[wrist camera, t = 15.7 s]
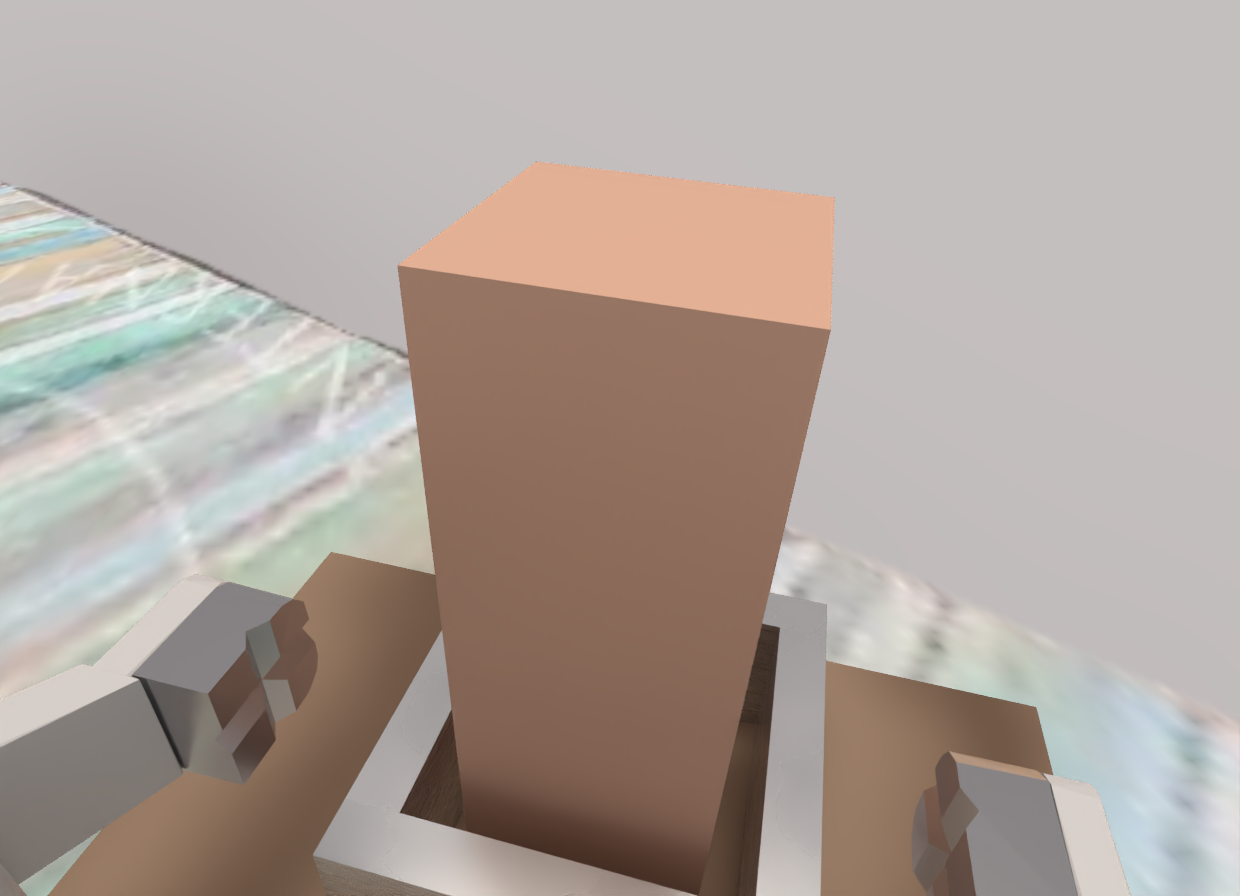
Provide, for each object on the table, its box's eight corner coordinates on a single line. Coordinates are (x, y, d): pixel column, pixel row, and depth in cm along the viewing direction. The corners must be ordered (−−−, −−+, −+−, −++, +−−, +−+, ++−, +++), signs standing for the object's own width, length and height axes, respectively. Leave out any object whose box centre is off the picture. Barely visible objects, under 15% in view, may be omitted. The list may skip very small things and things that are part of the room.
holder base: (32, 972, 15) (6, 945, 14) (337, 580, 23) (330, 552, 23) (1157, 1361, 11) (1197, 1351, 11) (1019, 735, 20) (1036, 707, 19)
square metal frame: (346, 950, 14) (312, 854, 12) (501, 632, 21) (495, 536, 19) (776, 1085, 13) (817, 1003, 11) (798, 700, 19) (827, 604, 17)
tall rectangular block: (472, 881, 15) (397, 264, 8) (542, 703, 19) (535, 161, 11) (687, 943, 15) (831, 330, 7) (717, 745, 18) (835, 197, 11)
